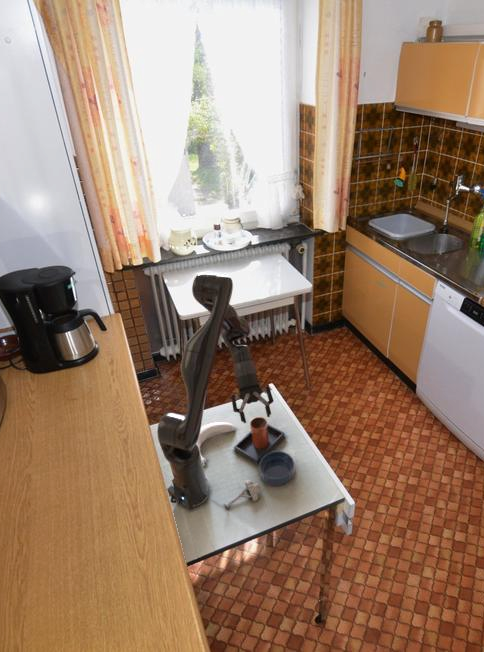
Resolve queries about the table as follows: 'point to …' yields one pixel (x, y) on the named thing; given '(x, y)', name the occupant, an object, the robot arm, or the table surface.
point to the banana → (212, 433)
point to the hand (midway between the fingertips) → (257, 419)
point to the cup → (259, 432)
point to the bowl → (276, 468)
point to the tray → (255, 454)
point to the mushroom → (253, 489)
